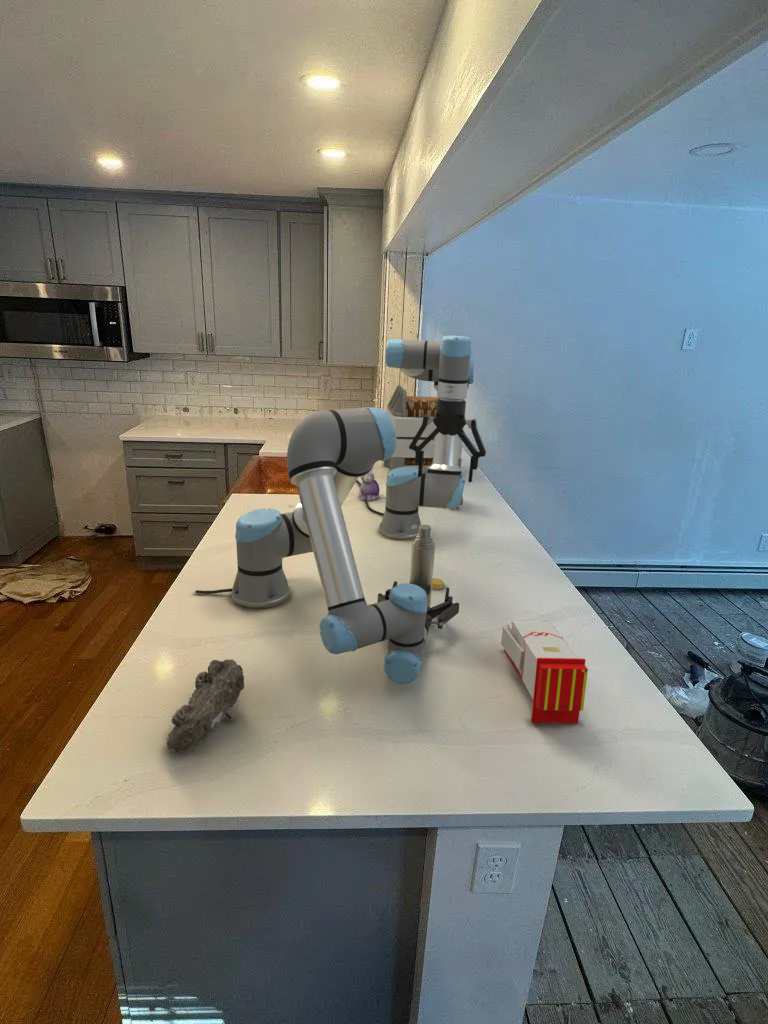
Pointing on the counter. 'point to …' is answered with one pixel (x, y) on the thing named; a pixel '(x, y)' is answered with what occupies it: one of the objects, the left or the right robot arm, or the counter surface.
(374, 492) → the figurine
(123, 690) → the counter surface
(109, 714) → the counter surface
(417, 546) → the bottle
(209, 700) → the fossil
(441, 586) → the cap
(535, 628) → the toy
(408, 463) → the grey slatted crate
